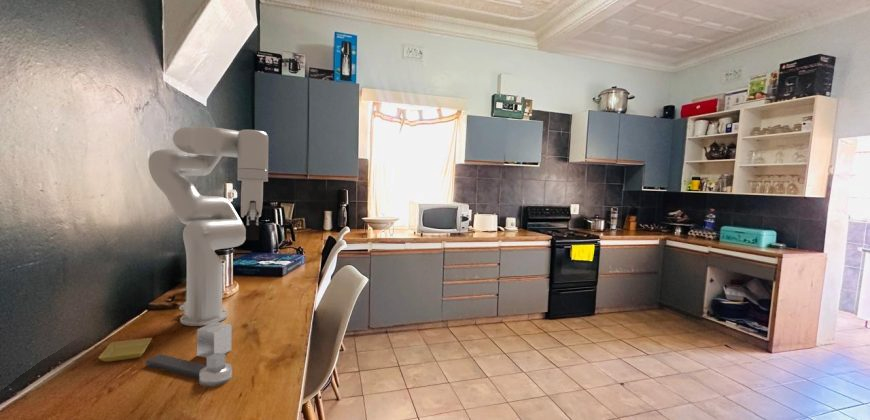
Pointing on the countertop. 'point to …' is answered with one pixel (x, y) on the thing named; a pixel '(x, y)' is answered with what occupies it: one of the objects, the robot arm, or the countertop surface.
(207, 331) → the white block
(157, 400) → the countertop surface
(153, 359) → the ratchet
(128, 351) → the flat yellow-green tile
